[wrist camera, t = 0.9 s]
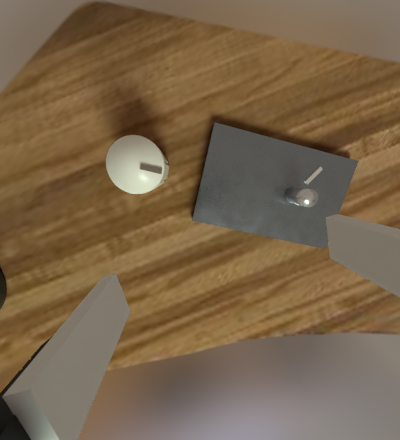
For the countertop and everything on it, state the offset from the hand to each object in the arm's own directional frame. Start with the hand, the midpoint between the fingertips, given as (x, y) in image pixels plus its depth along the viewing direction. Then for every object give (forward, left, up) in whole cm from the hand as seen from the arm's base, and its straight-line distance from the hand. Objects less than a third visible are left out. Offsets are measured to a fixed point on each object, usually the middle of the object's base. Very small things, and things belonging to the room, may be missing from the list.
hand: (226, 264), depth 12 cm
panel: (+10, +6, -19) cm, 22 cm away
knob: (-9, +5, -19) cm, 22 cm away
